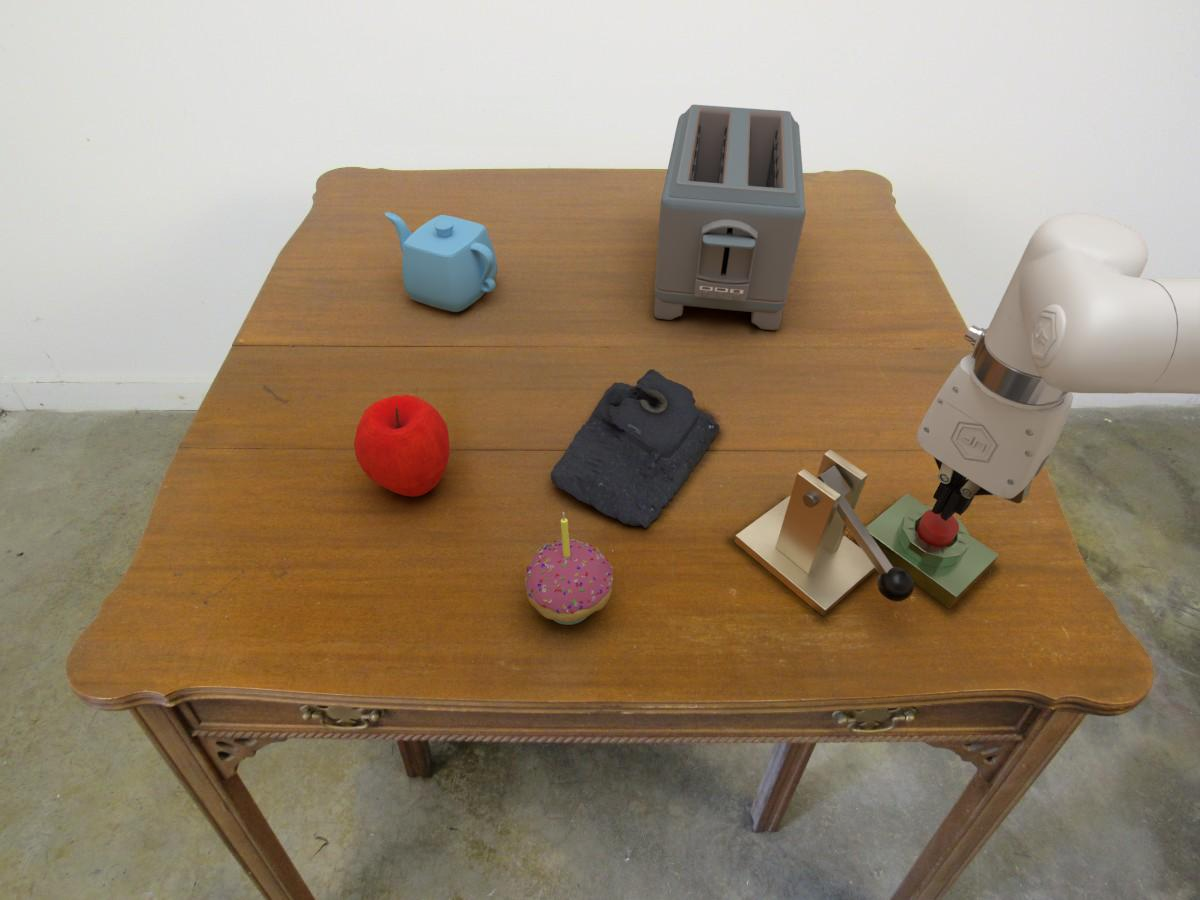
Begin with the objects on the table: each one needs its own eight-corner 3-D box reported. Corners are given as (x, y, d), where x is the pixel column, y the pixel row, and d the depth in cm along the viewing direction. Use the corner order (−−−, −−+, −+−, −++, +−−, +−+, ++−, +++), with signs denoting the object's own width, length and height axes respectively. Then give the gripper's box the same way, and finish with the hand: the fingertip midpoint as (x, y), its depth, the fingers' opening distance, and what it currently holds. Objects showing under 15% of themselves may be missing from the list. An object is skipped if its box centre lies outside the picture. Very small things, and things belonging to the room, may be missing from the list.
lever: (903, 592, 71) (927, 586, 69) (884, 610, 70) (907, 605, 67) (820, 471, 73) (840, 461, 70) (799, 486, 71) (819, 477, 69)
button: (960, 535, 76) (966, 524, 75) (940, 553, 74) (946, 542, 73) (929, 514, 78) (934, 503, 77) (909, 531, 76) (915, 520, 75)
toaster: (648, 335, 105) (658, 200, 91) (670, 221, 128) (680, 99, 114) (780, 349, 103) (811, 213, 89) (778, 230, 127) (802, 107, 112)
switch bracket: (877, 569, 77) (915, 488, 68) (822, 616, 73) (856, 537, 64) (788, 501, 84) (812, 419, 75) (733, 542, 80) (752, 459, 70)
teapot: (421, 257, 119) (408, 189, 111) (517, 284, 114) (512, 215, 106) (373, 296, 112) (356, 226, 103) (474, 327, 106) (465, 256, 98)
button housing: (990, 567, 78) (1006, 544, 75) (948, 609, 74) (963, 586, 71) (901, 505, 83) (912, 481, 81) (858, 541, 80) (868, 517, 77)
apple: (355, 511, 82) (327, 433, 73) (388, 449, 89) (366, 370, 80) (441, 524, 81) (424, 446, 72) (468, 460, 88) (454, 381, 79)
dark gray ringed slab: (528, 486, 85) (525, 458, 81) (621, 380, 98) (622, 352, 95) (646, 541, 80) (648, 512, 76) (727, 421, 93) (732, 392, 90)
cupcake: (521, 578, 76) (512, 502, 67) (601, 562, 77) (602, 486, 69) (536, 651, 70) (528, 578, 62) (622, 633, 72) (626, 559, 63)
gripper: (918, 340, 63) (861, 484, 76) (1093, 436, 55) (995, 578, 68) (966, 308, 66) (903, 450, 79) (1137, 394, 58) (1036, 536, 71)
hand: (946, 509), depth 74 cm, fingers closed
